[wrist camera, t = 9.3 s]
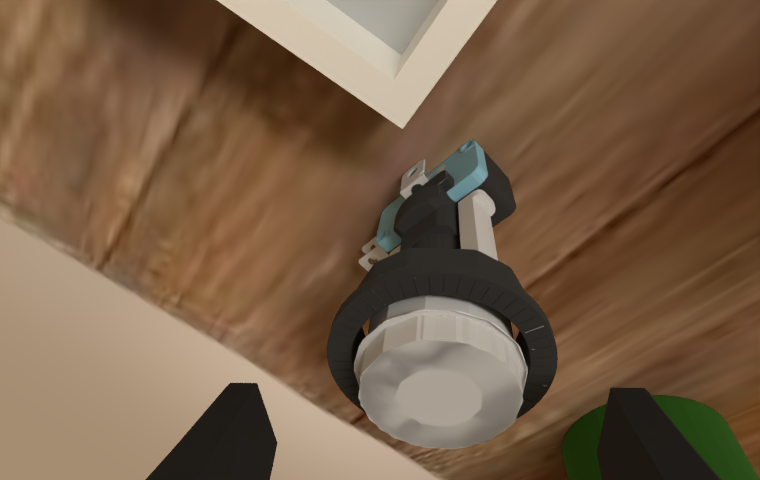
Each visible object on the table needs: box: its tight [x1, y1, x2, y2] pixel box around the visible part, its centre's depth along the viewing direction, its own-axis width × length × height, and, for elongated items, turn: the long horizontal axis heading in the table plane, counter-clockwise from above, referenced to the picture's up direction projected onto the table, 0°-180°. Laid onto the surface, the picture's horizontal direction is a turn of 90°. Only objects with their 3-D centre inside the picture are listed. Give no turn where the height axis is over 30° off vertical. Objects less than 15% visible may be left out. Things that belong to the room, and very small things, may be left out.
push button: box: [327, 139, 558, 449], centre depth 15 cm, size 7×5×10 cm
